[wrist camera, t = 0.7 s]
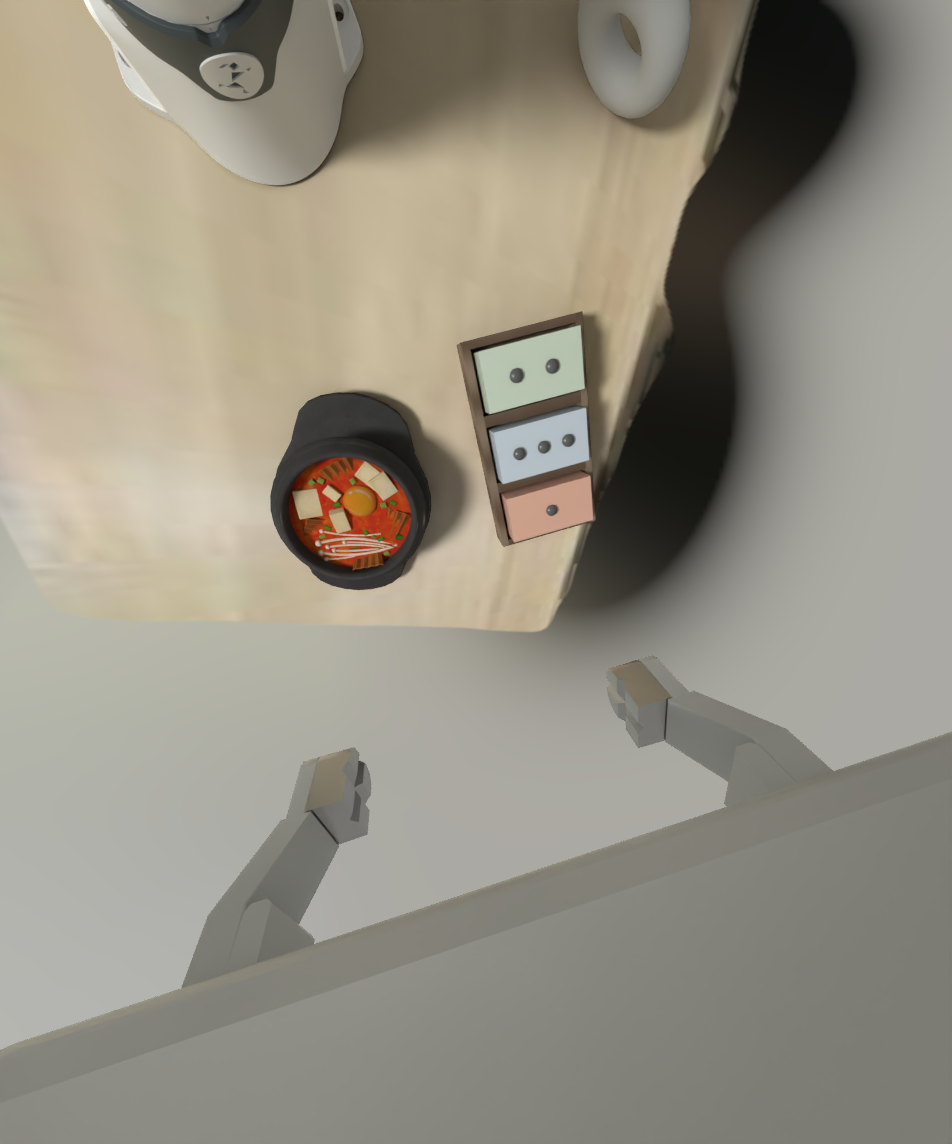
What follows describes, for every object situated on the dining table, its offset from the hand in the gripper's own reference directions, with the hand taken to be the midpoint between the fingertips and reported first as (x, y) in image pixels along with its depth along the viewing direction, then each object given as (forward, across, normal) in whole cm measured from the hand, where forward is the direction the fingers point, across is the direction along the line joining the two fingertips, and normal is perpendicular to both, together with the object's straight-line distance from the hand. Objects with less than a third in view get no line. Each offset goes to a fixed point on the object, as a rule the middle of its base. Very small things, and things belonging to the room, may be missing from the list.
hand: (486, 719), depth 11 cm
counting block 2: (+38, -14, 0) cm, 41 cm away
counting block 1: (+38, -14, -8) cm, 41 cm away
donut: (+40, -26, -29) cm, 56 cm away
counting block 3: (+38, -14, +8) cm, 42 cm away
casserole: (+40, +9, +2) cm, 42 cm away
